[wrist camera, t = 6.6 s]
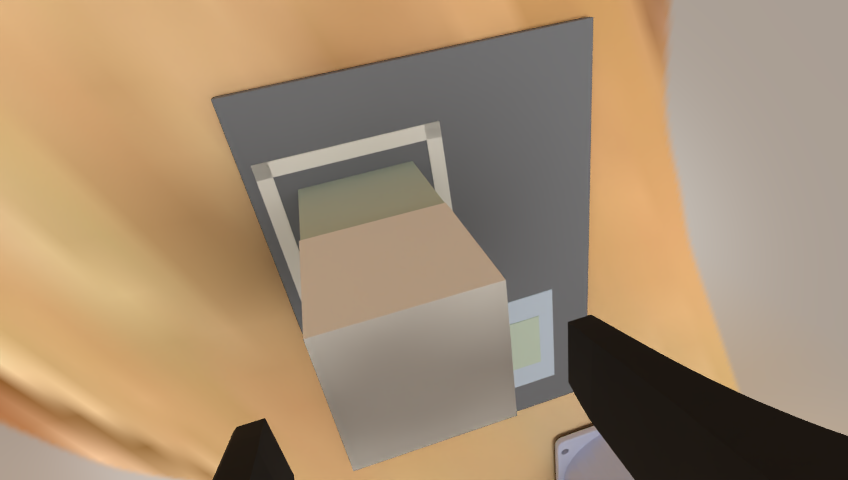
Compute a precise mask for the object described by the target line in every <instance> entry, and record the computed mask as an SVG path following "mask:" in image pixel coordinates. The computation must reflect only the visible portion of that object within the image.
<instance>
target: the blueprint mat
mask: <svg viewBox="0 0 848 480" xmlns="http://www.w3.org/2000/svg"><path fill="white" fill-rule="evenodd" d="M592 51H593V17H584V18H580V19H575V20H570V21H566V22H561V23H556V24H552V25H547V26H543V27H538V28H533V29H529V30H524V31H519V32H515V33H510V34H505V35H501V36H496V37H491V38H487V39H482V40H477V41H473V42H468V43H463V44H459V45H454V46H449V47H445V48H440V49H435V50H431V51H426V52H422V53H417V54H412V55H408V56H403V57H398V58H394V59H389V60H384V61H380V62H375V63H370V64H366V65H361V66H356V67H352V68H347V69H342V70H338V71H333V72H328V73H324V74H319V75H314V76H310V77H305V78H301V79H296V80H291V81H287V82H282V83H277V84H273V85H268V86H263V87H259V88H254V89H249V90H245V91H240V92H235V93H231V94H226V95H221V96H217V97H213V98H212V99H211V101H212V103H213V106H214V108H215V111H216V114H217V116H218V119H219V121H220V124H221V126H222V129H223V131H224V134H225V137H226V139H227V142H228V144H229V147H230V149H231V152H232V155H233V157H234V160H235V162H236V165H237V167H238V170H239V172H240V175H241V178H242V180H243V183H244V185H245V188H246V190H247V193H248V195H249V198H250V201H251V203H252V206H253V208H254V211H255V213H256V216H257V219H258V221H259V224H260V226H261V229H262V231H263V234H264V236H265V239H266V242H267V244H268V247H269V249H270V252H271V254H272V257H273V259H274V262H275V265H276V267H277V270H278V272H279V275H280V277H281V280H282V283H283V285H284V288H285V290H286V293H287V295H288V298H289V300H290V303H291V306H292V308H293V311H294V313H295V316H296V318H297V321H298V323H299V326H300V329H301V331H302V334H303V324H302V300H301V276H300V253H299V241H300V223H299V202H298V189H302V188H306V187H310V186H314V185H318V184H322V183H326V182H330V181H334V180H338V179H342V178H346V177H350V176H354V175H358V174H362V173H366V172H370V171H374V170H378V169H382V168H386V167H390V166H394V165H398V164H402V163H406V162H410V161H413V162H414V164H415V165H416V166H417V168H418V169H419V170H420V171H421V173H422V174H423V175H424V177H425V178H426V179H427V181H428V182H429V183H430V184H431V186H432V187H433V188H434V190H435V191H436V192H437V194H438V195H439V196H440V197H441V199H442V200H443V201H444V203H447V205H448V206H449V207H450V208H451V210H452V211H453V212H454V214H455V215H456V216H457V218H458V219H459V220H460V221H461V223H462V224H463V225H464V227H465V228H466V229H467V230H468V232H469V233H470V234H471V236H472V237H473V238H474V239H475V241H476V242H477V243H478V245H479V246H480V247H481V248H482V250H483V251H484V252H485V254H486V255H487V256H488V257H489V259H490V260H491V261H492V263H493V264H494V265H495V267H496V268H497V269H498V270H499V272H500V273H501V274H502V276H503V277H504V278H505V279H506V288H507V300H508V312H509V324H510V336H511V348H512V360H513V372H514V384H515V397H516V409H517V411H520V410H522V409H525V408H528V407H531V406H534V405H537V404H540V403H543V402H546V401H549V400H552V399H554V398H557V397H560V396H563V395H566V394H569V393H572V392H573V390H572V388H571V386H570V384H569V383H568V322H569V321H572V320H575V319H579V318H582V317H585V316H587V298H588V249H589V199H590V150H591V100H592Z"/></svg>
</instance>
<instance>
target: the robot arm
mask: <svg viewBox="0 0 848 480" xmlns="http://www.w3.org/2000/svg"><path fill="white" fill-rule="evenodd" d="M568 383H569V384H570V386H571V388H572V390H573V392H574V393H575V395H576V397H577V399H578V400H579V402H580V404H581V406H582V407H583V409H584V411H585V412H586V414H587V416H588V417H589V419H590V421H591V422H592V423H593V425H594V426H591V427H588V428H586V429H583V430H580V431H577V432H574V433H572V434H569V435H566V436H563V437H561V438H559V439H558V440H557V441H556V443H555V460H556V480H848V436H846V435H844V434H841V433H837V432H835V431H832V430H829V429H826V428H824V427H821V426H818V425H816V424H813V423H810V422H808V421H805V420H802V419H800V418H797V417H795V416H792V415H790V414H788V413H785V412H783V411H780V410H778V409H775V408H773V407H771V406H768V405H766V404H763V403H761V402H758V401H756V400H754V399H752V398H749V397H747V396H745V395H743V394H740V393H738V392H736V391H734V390H732V389H730V388H728V387H726V386H723V385H721V384H719V383H717V382H715V381H713V380H711V379H709V378H707V377H705V376H703V375H701V374H699V373H697V372H695V371H693V370H691V369H689V368H687V367H685V366H683V365H681V364H679V363H677V362H675V361H673V360H672V359H670V358H668V357H666V356H664V355H662V354H660V353H659V352H657V351H655V350H653V349H651V348H649V347H648V346H646V345H644V344H642V343H641V342H639V341H637V340H635V339H633V338H632V337H630V336H628V335H626V334H625V333H623V332H621V331H619V330H618V329H616V328H614V327H612V326H610V325H609V324H607V323H605V322H603V321H602V320H600V319H598V318H596V317H594V316H593V315H588V316H585V317H582V318H579V319H575V320H572V321H569V322H568ZM213 480H294V475H293V473H292V471H291V469H290V467H289V465H288V463H287V461H286V459H285V457H284V455H283V453H282V451H281V449H280V447H279V445H278V443H277V441H276V439H275V437H274V435H273V433H272V431H271V429H270V427H269V425H268V423H267V421H266V419H265V418H264V419H261V420H258V421H254V422H251V423H248V424H245V425H242V426H239V427H236V429H235V430H234V432H233V434H232V436H231V439H230V441H229V443H228V446H227V448H226V450H225V453H224V455H223V457H222V459H221V462H220V464H219V466H218V469H217V471H216V473H215V475H214V477H213Z"/></svg>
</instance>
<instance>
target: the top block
mask: <svg viewBox="0 0 848 480" xmlns="http://www.w3.org/2000/svg"><path fill="white" fill-rule="evenodd" d="M299 253H300V276H301V300H302V324H303V340H304V343H305V345H306V348H307V351H308V353H309V356H310V358H311V361H312V364H313V366H314V369H315V371H316V374H317V377H318V379H319V382H320V384H321V387H322V390H323V392H324V395H325V397H326V400H327V403H328V405H329V408H330V411H331V413H332V416H333V418H334V421H335V424H336V426H337V429H338V431H339V434H340V437H341V439H342V442H343V444H344V447H345V450H346V452H347V455H348V457H349V460H350V463H351V465H352V468H353V470H354V471H356V470H359V469H361V468H364V467H367V466H370V465H373V464H376V463H379V462H382V461H385V460H388V459H391V458H394V457H397V456H400V455H403V454H406V453H408V452H411V451H414V450H417V449H420V448H423V447H426V446H429V445H432V444H435V443H438V442H441V441H444V440H447V439H450V438H452V437H455V436H458V435H461V434H464V433H467V432H470V431H473V430H476V429H479V428H482V427H485V426H488V425H491V424H494V423H497V422H499V421H502V420H505V419H508V418H511V417H514V416H517V409H516V397H515V384H514V372H513V360H512V348H511V336H510V324H509V312H508V300H507V288H506V279H505V278H504V277H503V276H502V274H501V273H500V272H499V270H498V269H497V268H496V267H495V265H494V264H493V263H492V261H491V260H490V259H489V257H488V256H487V255H486V254H485V252H484V251H483V250H482V248H481V247H480V246H479V245H478V243H477V242H476V241H475V239H474V238H473V237H472V236H471V234H470V233H469V232H468V230H467V229H466V228H465V227H464V225H463V224H462V223H461V221H460V220H459V219H458V218H457V216H456V215H455V214H454V212H453V211H452V210H451V208H450V207H449V206H448V205H447V203H442V204H438V205H434V206H430V207H426V208H423V209H419V210H415V211H411V212H407V213H403V214H400V215H396V216H392V217H388V218H384V219H380V220H377V221H373V222H369V223H365V224H361V225H357V226H353V227H350V228H346V229H342V230H338V231H334V232H330V233H327V234H323V235H319V236H315V237H311V238H307V239H304V240H300V241H299Z"/></svg>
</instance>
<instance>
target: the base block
mask: <svg viewBox="0 0 848 480" xmlns="http://www.w3.org/2000/svg"><path fill="white" fill-rule="evenodd" d="M298 202H299V223H300V240H304V239H307V238H311V237H315V236H319V235H323V234H327V233H330V232H334V231H338V230H342V229H346V228H350V227H353V226H357V225H361V224H365V223H369V222H373V221H377V220H380V219H384V218H388V217H392V216H396V215H400V214H403V213H407V212H411V211H415V210H419V209H423V208H426V207H430V206H434V205H438V204H442V203H444V201H443V200H442V199H441V197H440V196H439V195H438V194H437V192H436V191H435V190H434V188H433V187H432V186H431V184H430V183H429V182H428V181H427V179H426V178H425V177H424V175H423V174H422V173H421V171H420V170H419V169H418V168H417V166H416V165H415V164H414V162H413V161H410V162H406V163H402V164H398V165H394V166H390V167H386V168H382V169H378V170H374V171H370V172H366V173H362V174H358V175H354V176H350V177H346V178H342V179H338V180H334V181H330V182H326V183H322V184H318V185H314V186H310V187H306V188H302V189H298Z"/></svg>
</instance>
